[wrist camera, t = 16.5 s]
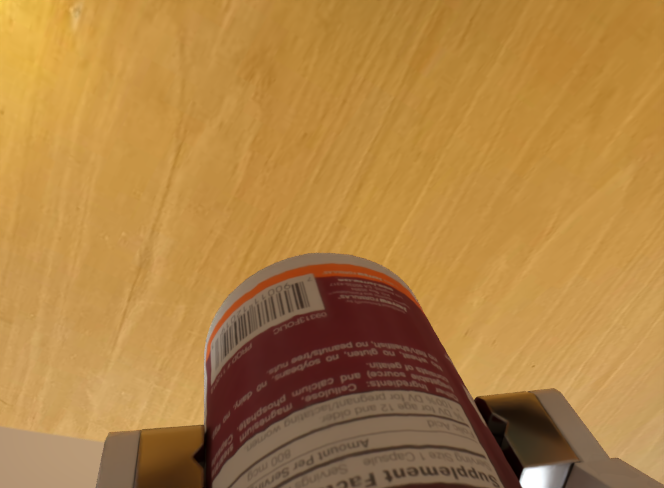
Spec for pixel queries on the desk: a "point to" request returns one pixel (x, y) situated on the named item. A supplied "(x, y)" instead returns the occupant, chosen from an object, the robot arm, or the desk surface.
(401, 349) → the pill bottle
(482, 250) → the desk surface
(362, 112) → the desk surface
